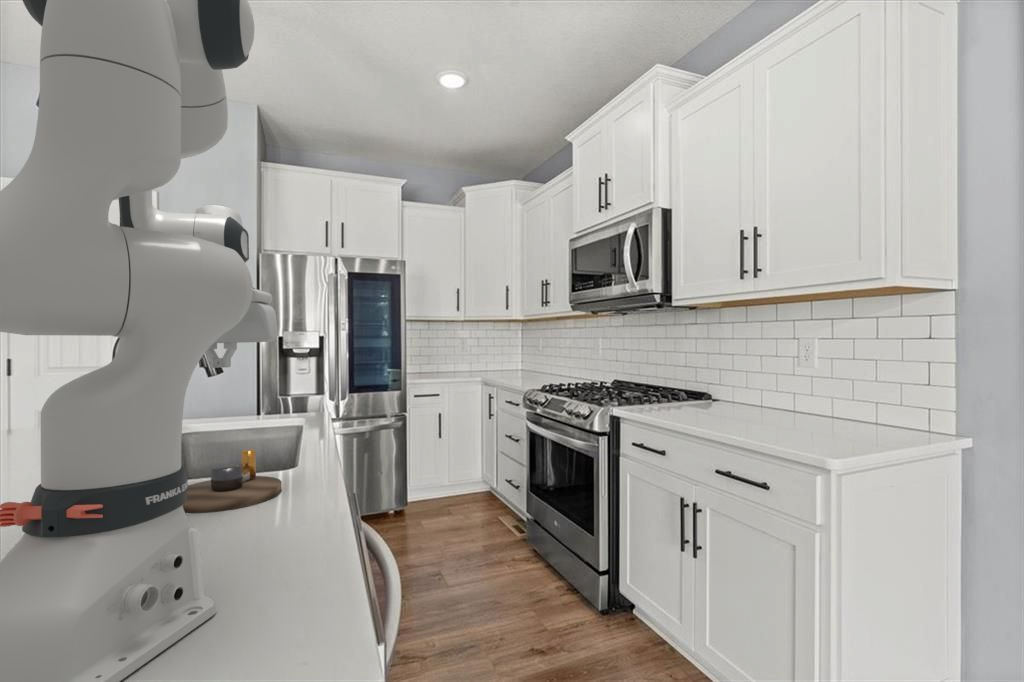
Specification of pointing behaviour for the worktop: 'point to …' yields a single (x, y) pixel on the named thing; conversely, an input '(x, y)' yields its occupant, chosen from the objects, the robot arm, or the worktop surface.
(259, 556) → the worktop surface
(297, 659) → the worktop surface
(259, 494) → the dial plate
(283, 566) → the worktop surface
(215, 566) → the worktop surface
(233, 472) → the dial pointer
